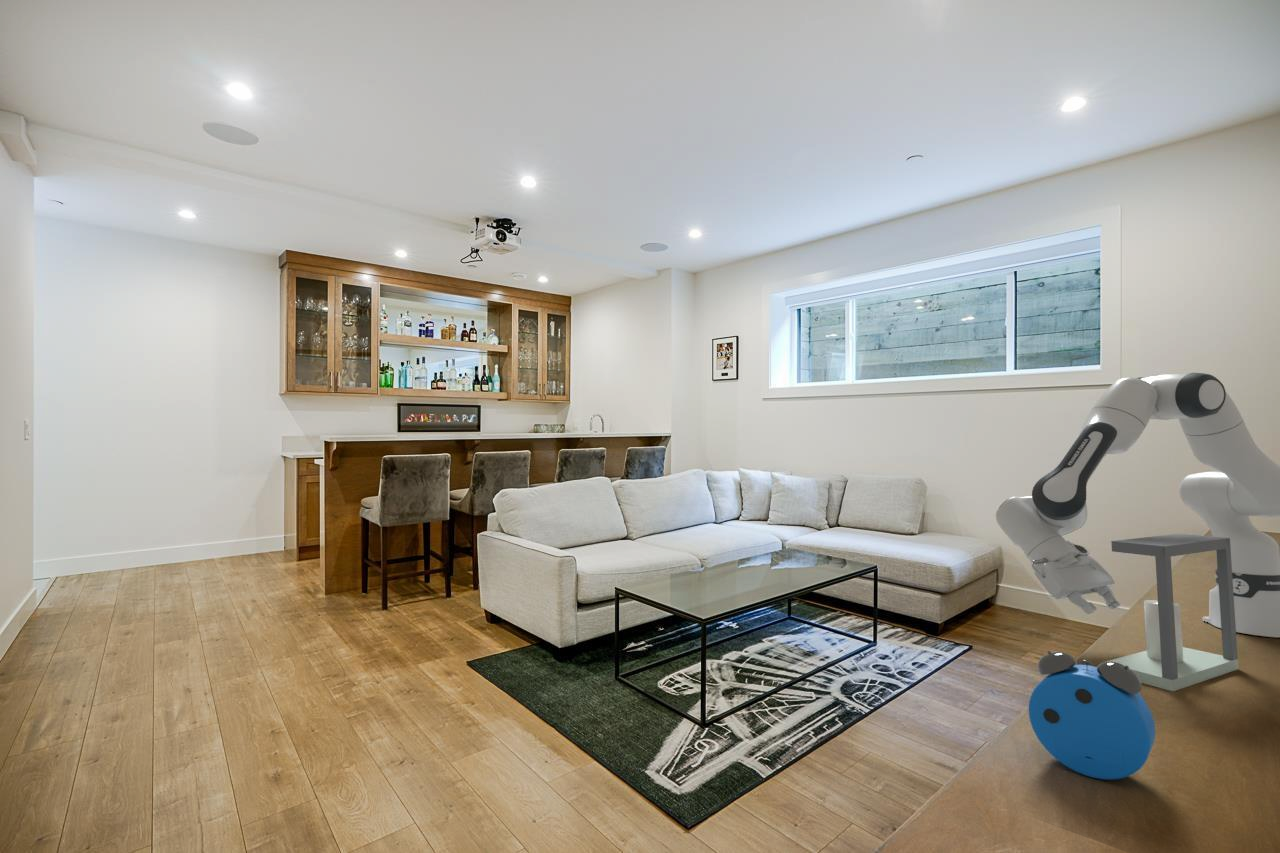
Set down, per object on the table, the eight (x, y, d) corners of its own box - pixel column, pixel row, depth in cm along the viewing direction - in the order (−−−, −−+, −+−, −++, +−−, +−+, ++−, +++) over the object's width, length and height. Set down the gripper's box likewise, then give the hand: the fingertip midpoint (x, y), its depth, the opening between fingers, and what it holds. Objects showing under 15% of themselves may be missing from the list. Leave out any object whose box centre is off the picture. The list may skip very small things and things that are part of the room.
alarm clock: (1158, 780, 78) (1152, 663, 79) (1152, 799, 73) (1145, 674, 74) (1040, 746, 87) (1036, 642, 88) (1029, 761, 83) (1024, 651, 84)
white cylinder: (1155, 653, 123) (1152, 599, 124) (1189, 660, 118) (1185, 604, 119) (1141, 657, 121) (1138, 601, 121) (1175, 665, 116) (1171, 607, 116)
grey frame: (1170, 653, 129) (1163, 532, 131) (1238, 669, 119) (1229, 538, 121) (1103, 672, 117) (1096, 539, 119) (1173, 691, 108) (1164, 546, 109)
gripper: (1037, 552, 132) (1088, 606, 122) (1089, 546, 141) (1140, 596, 131) (1017, 569, 135) (1066, 623, 126) (1069, 562, 144) (1118, 612, 135)
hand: (1104, 609), depth 129 cm, fingers open, 8 cm apart
